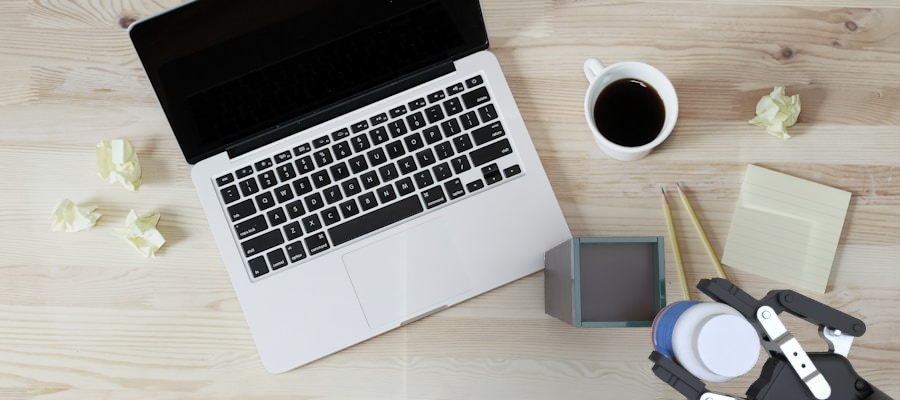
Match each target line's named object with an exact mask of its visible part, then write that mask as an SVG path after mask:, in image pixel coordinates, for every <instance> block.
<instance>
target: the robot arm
mask: <svg viewBox="0 0 900 400" xmlns="http://www.w3.org/2000/svg"><path fill="white" fill-rule="evenodd" d="M695 288H696V289H697V290H698V291H700V292H701V293H702V294H704V295H706V296H707V297H709V298H710V299H711V300H712V301H713V302H718V303H723V304H726V305H729V306H731V307H733V308H734V309H736V310H737V311H738V312H740V313H741V314H742V315H743V316H744V317H745V318H746V320H747V321H748V322H749V323H750V324H751V325H752V326H753V327H754V329H755V330H756V332H757V334H758V336H759V340H760V346H762V348H763V349H764V351H765V352H766V354H767V355H768V357H767V359H766V361H764V364H763V365H762V367H761V370H760V374H759V377H758V378H757V379H755V380H754V381H753V382H752V383H751V384H750V385H749V387H748V388H747V390H746V391H745V392H744V395H745V396H746V397H745V396H740V395H735V394H731V393H727V392H726V393H725V392H720V391H716V390H711V389H708V388H706V386H707V384H706V383H705V382H704V381H703V380H700V379H697V378H696V377H695V376H693V375H692V374H690V373H689V372H687V371H686V370H684V369H683V368H682V367H680V366H679V365H677V364H676V363H674V362H673V361H671V360H670V359H669V358H667V357H666V356H664V355H663V354H661V353H659V352H658V351H655V350H654V349H653V350H652V351H651V352H650V354H649V356H648V357H647V359H648V360H649V361H651V362H652V363H654V364H653V365H652V366H651V368H650V370H651V371H652V374H654V376H655V377H657V378H658V379H659V380H661V381H662V382H664V383H665V384H667V385H668V386H669V387H671V388H672V389H673V390H675V391H677V392H678V393H680V395H683V396H684V397H685V398H686V399H687V400H895V399H894V398H893V397H891V396H889V395H888V394H887V393H885V392H884V391H882V390H881V389H879V388H878V387H877V386H875V385H873V384H872V383H871V382H869V381H868V380H866V379H865V378H863V377H862V376H861V375H860V374H858V373H857V371H856V370H855V368H854V367H853V365H852V362H851V361H850V359H848V356H849V353H850V352H851V349H852V346H853V342H854V341H855V338H860V337H863V336H864V335H865V334H866V331H867V325H866V324H865V322H864V321H863V320H862V319H859V318H857V317H855V316H852V315H850V314H848V313H847V312H844V311H841V310H839V309H837V308H835V307H833V306H829V305H828V304H825V303H823V302H820V301H818V300H816V299H814V298H811V297H809V296H807V295H804V294H803V293H799V292H798V291H795V290H793V289H785V288H784V289H783V288H782V289H770V290H769V291H767V293H766V294H765V295H764V296H763V297H762V298H760V299H757V298H755V297H754V296H752V295H750V294H749V292H746V291H745V290H743V289H742V288H740V287H739V286H738V285H736V284H734V283H733V282H731V281H730V280H728V279H726V278H723V277H717V276H716V277H711V278H700V280H699V281H698V283H697V284H696V286H695ZM783 312H785V313H787V314H790V315H792V316H794V317H796V318H798V319H800V320H803V321H805V322H808V323H810V324H812V325H815V326H816V327H817V334H818V336H819V337H820V338H821V339H822V340H823V341H825V343H826V344H827V348H828V350H827V351H805V349H804V348H803V347H802V345H801V344H800V342H799V341H798V340H797V338H796V337H795V336H794V335H793V333H791V332H790V331H789V330H788V329H787V327H786V326H785V325H784V323H783V321H782V320H781V319H780V317H779V316H780V315H781V314H782V313H783Z"/></svg>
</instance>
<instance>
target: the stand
mask: <svg viewBox="0 0 900 400" xmlns="http://www.w3.org/2000/svg"><path fill="white" fill-rule="evenodd" d="M544 252H545V268H544V267H543V269H544V270H543V277H544V280H543V281H544V285H543V286H544V314H546V315H549V316H550V317H553V318H555V319H557V320H559V321H561V322H563V323H565V324H568V325H569V326H571V327H574V326H573V322H572V280H571V238H569V239H568V240H566V241H563V242H561V243H560V244H558V245H556V246H553V247H552V248H550V249H548V250H546V251H544ZM580 276H581V316H582V320H655V302H654V275H653V248H652V244H580Z"/></svg>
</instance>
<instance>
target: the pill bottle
mask: <svg viewBox="0 0 900 400" xmlns="http://www.w3.org/2000/svg"><path fill="white" fill-rule="evenodd" d="M650 329H651V330H650V339H651V344H652V347H653V350H655V351H658V352H659V353H661V354H663V355H664V356H666V357H667V358H669V359H670V360H671V361H673V362H674V363H676V364H677V365H679V366H680V367H682V368H683V369H684V370H686V371H687V372H689V373H690V374H692V375H693V376H695V377H696V378H697V379H699V380H700V381H702V382H707V383H724V382H728V381H731V380H734V379H736V378H737V377H741V376H742V375H745V374H746V373H748V372H749V371H751V370H752V369H753V368H754V367H755V365H756V364H757V362H758V360H759V358H760V353H761V343H760V339H759V336H758V334H757V332H756V330H755V329H754V327H753V326H752V325H751V324H750V323H749V322H748V321H747V319H746V318H745V317H744V316H743V315H742V314H741V313H740V312H738V311H737V310H736V309H734V308H733V307H731V306H729V305H726V304H723V303H718V302H716V301H706V300H705V301H702V300H689V299H683V300H677V301H674V302H671V303H669V304H666V307H664V308H663V309H662V310H661V311H660V312H659V313H658V315H657V316H656V318H655V320H654V322H653V325H652V327H651V328H650Z"/></svg>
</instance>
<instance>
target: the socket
mask: <svg viewBox="0 0 900 400" xmlns="http://www.w3.org/2000/svg"><path fill="white" fill-rule="evenodd" d="M570 239H571V280H572V322H573V326H572V327H573V328H575V329H578V328H579V329H580V328H582V329H584V328H585V329H588V328H590V329H592V328H593V329H597V328H599V329H601V328H608V329H609V328H610V329H611V328H613V329H614V328H621V329H622V328H635V329H637V328H652V325H653V322H654V320H582V316H581V276H580V244H652V248H653V275H654V302H655V318H656V316H657V315H658V313H659V312H660V311H661V310H662V309H663V308H664V307H666V306H667V285H666V283H667V282H666V260H665V237H664V235H659V236H658V235H657V236H656V235H655V236H654V235H651V236H647V235H646V236H645V235H644V236H642V235H641V236H639V235H638V236H636V235H635V236H633V235H632V236H573V237H570Z"/></svg>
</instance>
